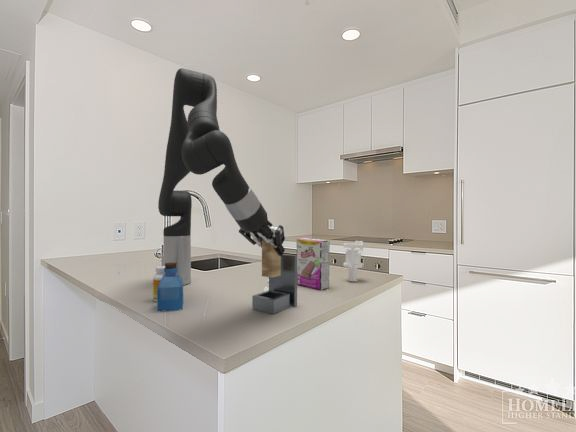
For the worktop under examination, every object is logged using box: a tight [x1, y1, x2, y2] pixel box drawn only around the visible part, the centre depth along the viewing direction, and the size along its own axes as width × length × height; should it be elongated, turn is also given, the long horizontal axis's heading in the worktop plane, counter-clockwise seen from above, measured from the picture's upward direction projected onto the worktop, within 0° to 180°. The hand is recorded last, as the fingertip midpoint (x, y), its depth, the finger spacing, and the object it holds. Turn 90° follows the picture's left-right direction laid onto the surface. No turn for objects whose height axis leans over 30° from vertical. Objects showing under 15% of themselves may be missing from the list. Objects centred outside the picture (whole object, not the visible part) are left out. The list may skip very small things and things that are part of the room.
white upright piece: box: [342, 240, 364, 282], centre depth 118 cm, size 7×7×15 cm
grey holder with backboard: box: [251, 253, 298, 315], centre depth 86 cm, size 9×9×14 cm
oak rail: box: [261, 238, 281, 278], centre depth 85 cm, size 4×4×13 cm
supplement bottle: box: [152, 265, 165, 302], centre depth 93 cm, size 5×5×10 cm
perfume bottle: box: [156, 262, 184, 312], centre depth 86 cm, size 6×6×12 cm
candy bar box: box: [296, 237, 330, 291], centre depth 109 cm, size 11×5×16 cm, turn 47°
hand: (275, 252), depth 87 cm, fingers closed on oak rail, 3 cm apart
